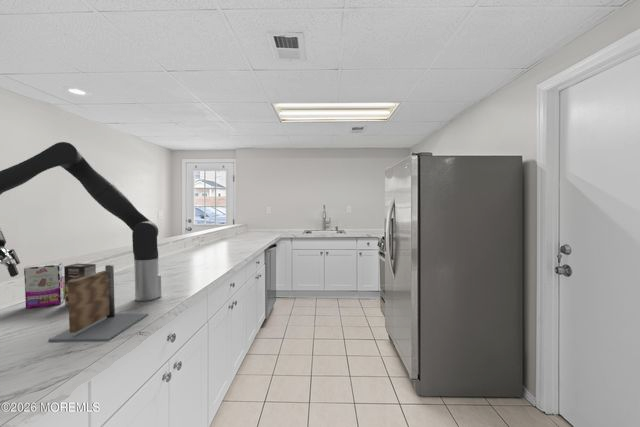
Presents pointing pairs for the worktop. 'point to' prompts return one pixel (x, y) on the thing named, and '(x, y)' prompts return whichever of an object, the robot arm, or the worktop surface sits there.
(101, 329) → the mat
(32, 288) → the candy bar box
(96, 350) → the worktop surface
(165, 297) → the worktop surface
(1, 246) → the robot arm
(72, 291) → the gate
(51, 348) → the worktop surface
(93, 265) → the coffee box
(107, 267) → the hinge post
